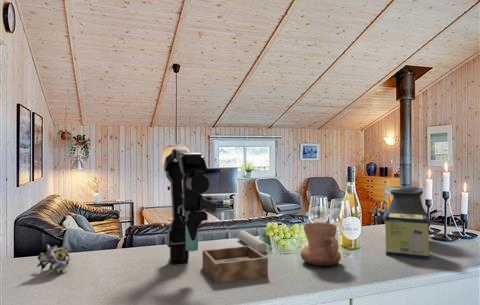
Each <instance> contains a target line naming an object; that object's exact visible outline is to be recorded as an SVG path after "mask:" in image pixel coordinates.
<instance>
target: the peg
mask: <svg viewBox="0 0 480 305" xmlns="http://www.w3.org/2000/svg"><path fill="white" fill-rule="evenodd" d="M198 250H199V229H198V230H197V234H196V238H195V240H191V237H190V235H189V232H188V229H187V226H186V251H189V252H196V251H198Z"/></svg>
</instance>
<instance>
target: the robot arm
mask: <svg viewBox="0 0 480 305" xmlns="http://www.w3.org/2000/svg"><path fill="white" fill-rule="evenodd" d="M163 164H164V165H163V170H164V172H165V176H166V179H167V180H168V181H169V183H170V194H171V211H172V212H171V213H172V220H171V222H170V224H169V226H168V231H167V232H166V233H167V234H166V238H165V243H166V246H167V248H169V258H168V261H169V263H170V265H176V264H185V263H186V264H187V263H189V259H190V258H189V256H190V254H189V253H190V251H186V226H187V229H188V232H189V235H190V237H191V240H195V238H196V234H197V230H198V231H199V226H200V224H202V222H205V221H208V220H209V218H208V215H209V214H208V213H207V212H206V211H205V210H207V211H210V212H212V213H216V211H217V208H218V205H219V204H218V203H217V202H216V201H215V202H214V201H213V200H212V198H211V197H209V196H205V197H204V195H203V194H204V193H206V192H207V191H208V189H209V187H210V181H209V178H208V177H207V176H205V174H207V173H208V172H207V171H208V166H207V163H206V161H205V159H204V156H203V155H202V153H201V152H190V151H188V150H187V149H186V148H185V149H184V148H173V149H171V153H169V154H168V155H166V157H165V160H164V163H163Z"/></svg>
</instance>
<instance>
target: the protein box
mask: <svg viewBox="0 0 480 305" xmlns="http://www.w3.org/2000/svg"><path fill="white" fill-rule="evenodd" d="M427 216H428V215H427ZM427 216H426V215H412V214H393V213H386V216H385V223H384V226H385V229H384V230H385V255H386V256H390V257H399V258H409V259H418V260H427V261H429V260H430V241H429V239H430V238H429V229H428V219H427Z"/></svg>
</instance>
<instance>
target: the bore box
mask: <svg viewBox="0 0 480 305" xmlns="http://www.w3.org/2000/svg"><path fill="white" fill-rule="evenodd" d="M268 259H269V258H268V257H267V256H266V255H264V254H263V253H259V252H258V251H256V250H255V249H253V248H252V247H250V246H249V245H242V246H233V247H223V248H213V249H203V250H202V269H203V270H204V271H205V272H206V273H207V275H209V277H210V278H211V279H212V281H213V282H214V283H215V284H219V283H220V284H221V283H227V282H228V281H229V282H235V281H242V280H248V279H257V278H263V277H268V276H269V263H268V262H269V260H268Z"/></svg>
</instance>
